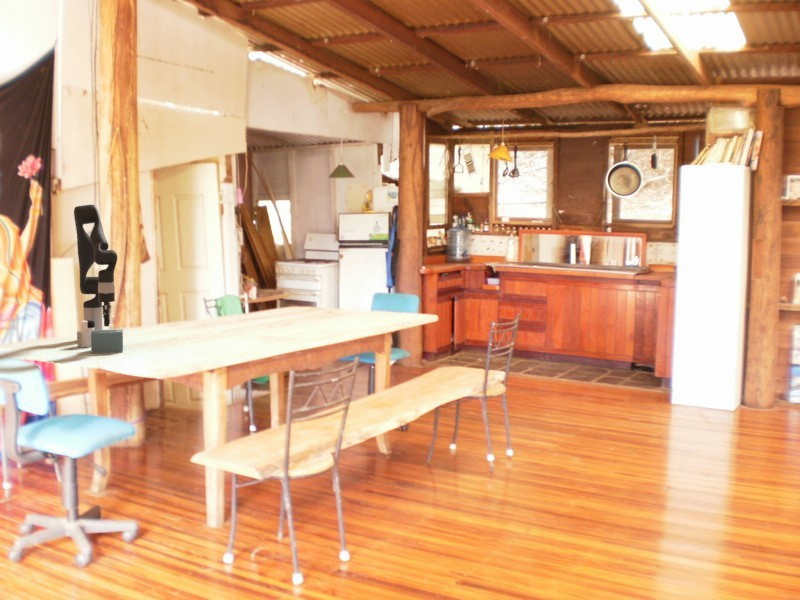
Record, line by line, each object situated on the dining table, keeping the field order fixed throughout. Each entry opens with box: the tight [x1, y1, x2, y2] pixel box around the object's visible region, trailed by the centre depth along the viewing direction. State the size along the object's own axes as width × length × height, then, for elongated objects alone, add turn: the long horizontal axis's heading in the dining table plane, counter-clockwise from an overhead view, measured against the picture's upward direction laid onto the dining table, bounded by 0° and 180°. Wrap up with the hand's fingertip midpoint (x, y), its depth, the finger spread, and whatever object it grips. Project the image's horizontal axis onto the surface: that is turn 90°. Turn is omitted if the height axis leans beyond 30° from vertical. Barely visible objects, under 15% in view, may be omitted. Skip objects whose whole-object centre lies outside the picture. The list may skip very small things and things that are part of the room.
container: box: [76, 319, 95, 348], centre depth 411 cm, size 8×8×13 cm
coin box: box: [90, 329, 124, 354], centre depth 396 cm, size 10×14×10 cm
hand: (107, 325), depth 395 cm, fingers open, 8 cm apart
